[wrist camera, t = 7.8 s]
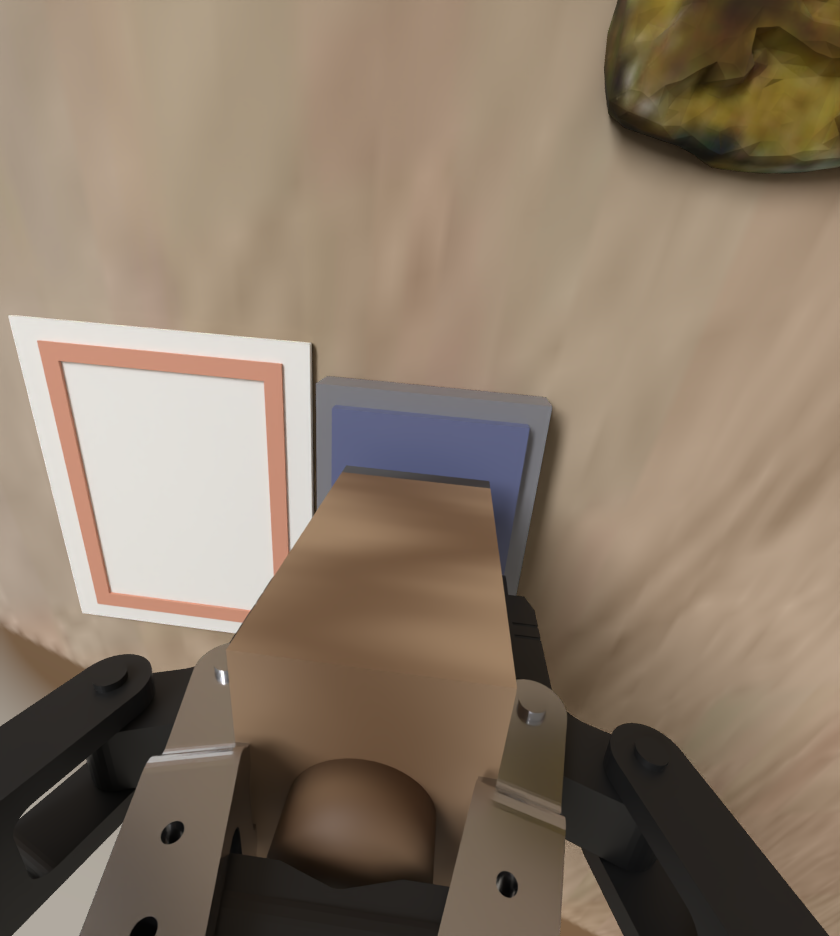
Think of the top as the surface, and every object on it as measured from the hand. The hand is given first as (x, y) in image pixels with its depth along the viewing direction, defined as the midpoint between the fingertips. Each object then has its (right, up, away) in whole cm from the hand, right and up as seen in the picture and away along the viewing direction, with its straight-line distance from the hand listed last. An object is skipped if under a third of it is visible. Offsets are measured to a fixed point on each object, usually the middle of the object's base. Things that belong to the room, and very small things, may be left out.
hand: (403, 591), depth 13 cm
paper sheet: (-8, +2, +4) cm, 10 cm away
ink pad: (+1, +1, +4) cm, 4 cm away
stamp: (0, 0, +1) cm, 1 cm away
